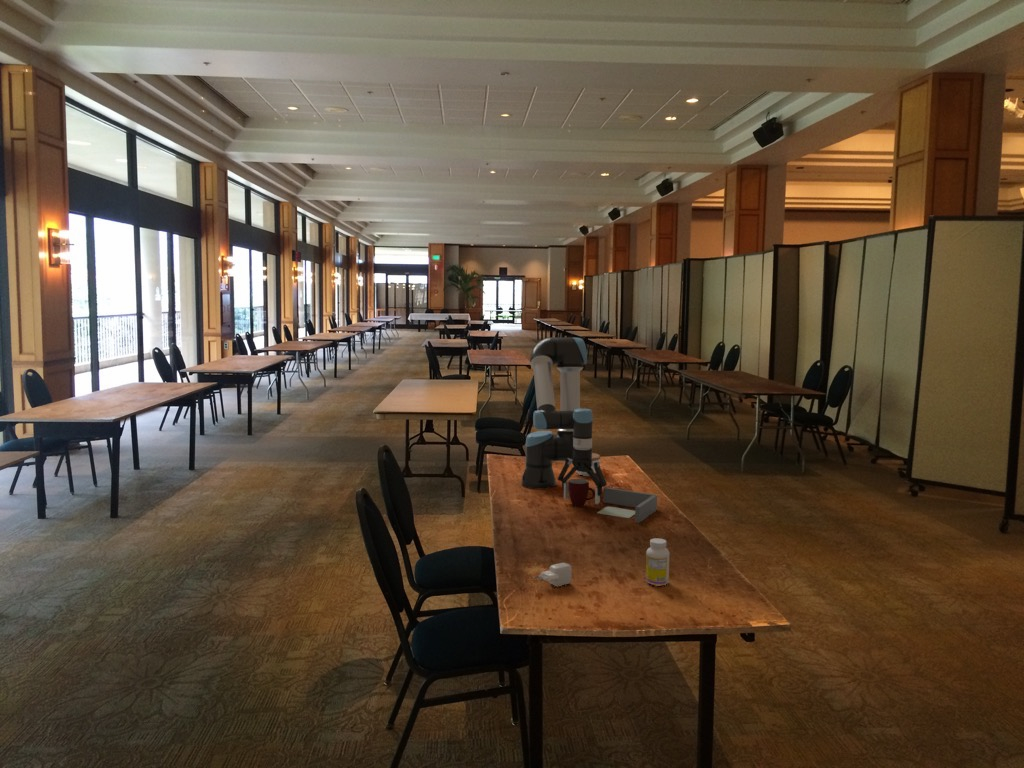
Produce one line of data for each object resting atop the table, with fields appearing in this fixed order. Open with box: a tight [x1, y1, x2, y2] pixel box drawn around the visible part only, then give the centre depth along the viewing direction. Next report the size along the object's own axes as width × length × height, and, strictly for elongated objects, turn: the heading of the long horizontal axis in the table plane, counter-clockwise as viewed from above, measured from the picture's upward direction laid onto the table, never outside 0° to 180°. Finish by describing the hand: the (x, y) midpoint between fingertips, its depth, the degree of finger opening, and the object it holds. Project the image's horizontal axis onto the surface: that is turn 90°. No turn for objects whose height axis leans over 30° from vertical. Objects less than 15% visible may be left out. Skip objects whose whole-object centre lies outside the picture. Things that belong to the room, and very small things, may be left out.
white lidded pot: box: [575, 452, 601, 477], centre depth 352 cm, size 13×13×11 cm
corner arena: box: [597, 486, 658, 524], centre depth 293 cm, size 22×20×6 cm
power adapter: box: [534, 562, 573, 587], centre depth 219 cm, size 11×5×6 cm, turn 122°
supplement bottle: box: [645, 537, 670, 585], centre depth 222 cm, size 7×7×13 cm
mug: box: [567, 478, 595, 508], centre depth 301 cm, size 11×8×10 cm
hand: (581, 501), depth 301 cm, fingers open, 13 cm apart
